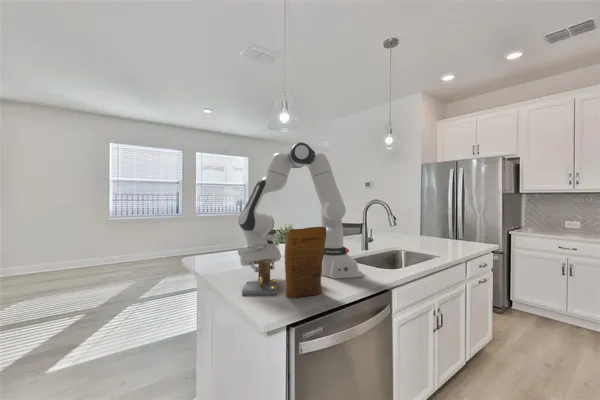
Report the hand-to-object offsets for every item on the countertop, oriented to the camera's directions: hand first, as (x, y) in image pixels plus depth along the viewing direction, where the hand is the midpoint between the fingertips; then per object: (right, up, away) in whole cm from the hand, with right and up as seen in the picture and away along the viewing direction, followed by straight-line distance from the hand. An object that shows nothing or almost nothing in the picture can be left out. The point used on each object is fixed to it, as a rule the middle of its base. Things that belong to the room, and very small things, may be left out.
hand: (264, 270), depth 130 cm
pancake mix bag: (+19, -6, -17) cm, 26 cm away
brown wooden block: (0, -5, +1) cm, 5 cm away
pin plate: (0, -6, -11) cm, 13 cm away
